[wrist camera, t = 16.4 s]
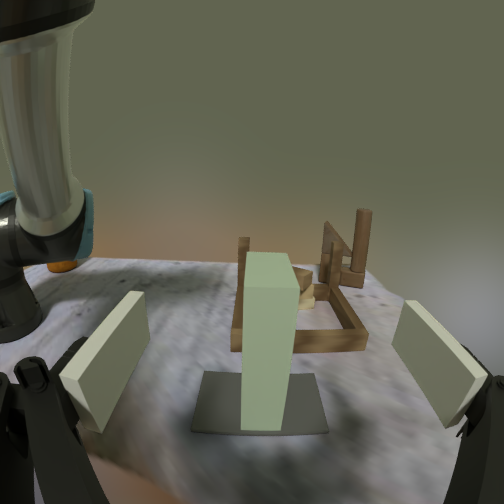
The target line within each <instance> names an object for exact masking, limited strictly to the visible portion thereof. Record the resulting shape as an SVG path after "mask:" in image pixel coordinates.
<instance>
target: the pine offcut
mask: <svg viewBox="0 0 504 504" xmlns="http://www.w3.org/2000/svg"><path fill="white" fill-rule="evenodd" d="M314 303H315V298H314V297H313V299H299V304H298V310H308V309H314Z"/></svg>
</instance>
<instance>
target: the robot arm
mask: <svg viewBox="0 0 504 504" xmlns="http://www.w3.org/2000/svg"><path fill="white" fill-rule="evenodd" d="M94 3H95V0H0V135H1V139H2V143H3V148H4V151H5V155H6V159H7V162H8V166H9V169H10V172H11V176H12V179H13V182H14V185H15V188H16V191H17V194H18V198H16V196H15V193H14V191H8V192H4V193H1V194H0V343H5V342H10V341H13V340H16V339H19V338H21V337H23V336H25V335H27V334H28V333H30V332H31V331H33V330H34V329H35V328H36V327H37V326H38V325H39V323H40V322H41V319H42V312H41V309H40V305H39V302H38V301H37V299H36V298H35V296H34V294H33V292H32V290H31V288H30V286H29V284H28V283H27V281H26V279H25V275H24V270H23V267H24V266H32V265H40V264H47V263H55V262H63V261H72V262H73V261H76V260H78V259H83V258H87V257H88V256H89V255H90V254H91V252H92V248H93V223H94V216H93V215H94V211H93V210H94V209H93V194H92V192H91V191H90V190H88V189H82V186H81V184H80V182H79V181H78V180H77V179H76V178H75V177H74V176H72V171H71V159H70V146H69V125H68V124H69V121H68V96H69V71H70V59H71V47H72V40H73V32H74V29H75V28H76V27H77V26H78V25H79V24H81V23H82V22H83V21H84V20H85V19H86V18H88V17H89V16H90V15H91V14H92V12H93V8H94ZM149 341H150V333H149V327H148V319H147V312H146V304H145V295H144V292H138V291H129V293H128V294H127V295H126V296H125V297H124V298H123V299H122V300H121V301H120V303H119V304H118V305H117V306H116V307H115V308H114V309H113V310H112V312H111V313H110V314H109V315H108V316H107V317H106V318H105V320H104V321H103V322H102V323H101V324H100V325H99V327H98V328H97V329H96V330H95V331H94V332H93V334H92V335H91V336H90V337H89V338H88V337H82V338H80V339H78V340H77V341H75V342H74V343H73V344H72V345H71V346H70V347H69V348H68V351H66V352H65V353H64V354H63V357H61V358H60V359H59V360H58V361H57V363H56V364H55V365H54V366H53V367H52V369H51V370H50V371H49V370H48V368H47V365H46V363H45V361H44V360H43V359H42V358H40V357H36V356H33V357H27V358H24V359H22V360H21V361H19V362H18V363H17V364H16V366H15V368H14V373H15V375H16V378H17V380H18V382H19V384H12V383H10V381H9V379H8V377H7V375H6V374H4V373H3V372H0V504H35V498H34V468H35V472H36V476H37V480H38V483H39V487H40V490H41V494H42V497H43V500H44V503H45V504H110V503H109V501H108V499H107V498H106V496H105V494H104V492H103V490H102V488H101V485H100V483H99V481H98V479H97V477H96V475H95V472H94V470H93V468H92V465H91V463H90V461H89V458H88V456H87V453H86V450H85V448H84V445H83V442H82V440H81V437H80V434H79V431H78V429H77V427H76V424H77V422H78V421H79V419H80V421H81V423H82V424H83V426H84V428H85V429H88V430H91V431H94V432H98V433H101V434H102V432H103V430H104V428H105V426H106V424H107V422H108V420H109V418H110V416H111V414H112V412H113V410H114V408H115V406H116V404H117V402H118V400H119V398H120V396H121V394H122V392H123V390H124V388H125V386H126V384H127V382H128V380H129V378H130V376H131V374H132V373H133V371H134V369H135V367H136V365H137V363H138V361H139V359H140V357H141V356H142V354H143V352H144V350H145V348H146V346H147V344H148V343H149ZM392 346H393V347H394V349H395V350H396V352H397V353H398V355H399V356H400V358H401V359H402V361H403V362H404V364H405V365H406V367H407V368H408V370H409V371H410V373H411V374H412V376H413V377H414V379H415V380H416V382H417V384H418V385H419V387H420V388H421V390H422V391H423V393H424V395H425V396H426V398H427V399H428V401H429V403H430V404H431V406H432V407H433V409H434V411H435V412H436V414H437V416H438V417H439V419H440V421H441V422H442V424H443V426H444V427H445V429H446V428H449V427H452V426H454V425H457V424H458V423H459V422H460V420H461V419H462V417H463V416H464V414H465V415H466V417H467V418H468V419H467V421H466V422H465V424H464V425H463V426H462V428H461V429H460V431H459V432H458V433H457V435H456V437H458V436H459V435H460V434H461V433H462V432H463V434H462V437H461V438H462V439H461V444H460V448H459V452H458V457H457V461H456V464H455V468H454V472H453V475H452V479H451V482H450V485H449V488H448V491H447V494H446V497H445V500H444V503H443V504H504V376H500V375H498V376H495V377H493V375H492V374H491V373H490V372H489V371H488V370H487V369H486V368H485V367H484V365H483V364H482V363H481V362H480V361H478V360H477V358H476V357H475V356H473V354H472V353H471V352H470V351H469V350H468V348H466V347H465V346H463V345H462V344H460V343H459V342H458V341H457V340H456V339H455V338H454V337H453V336H452V335H451V334H450V333H449V332H448V331H447V330H446V329H445V328H444V327H443V326H442V325H441V324H440V323H439V322H438V321H437V320H436V319H435V318H434V317H433V316H432V315H431V314H430V313H429V312H428V311H427V310H425V309H424V308H423V307H422V306H421V305H420V304H419V303H418V302H417V301H416V300H411V301H410V300H408V301H404V304H403V308H402V311H401V315H400V318H399V322H398V325H397V329H396V332H395V335H394V338H393V341H392Z"/></svg>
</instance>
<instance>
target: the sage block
mask: <svg viewBox="0 0 504 504" xmlns="http://www.w3.org/2000/svg"><path fill="white" fill-rule="evenodd" d="M299 294H300V286H299V284H298V281H297V279H296V276H295V273H294V271H293V268H292V265H291V263H290V260H289V258H288V255H287V253H269V252H267V253H266V252H247V257H246V267H245V278H244V297H243V338H242V386H241V430H259V431H278V430H281V425H282V419H283V413H284V407H285V401H286V395H287V388H288V381H289V375H290V368H291V360H292V353H293V345H294V338H295V330H296V321H297V313H298V304H299Z"/></svg>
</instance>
